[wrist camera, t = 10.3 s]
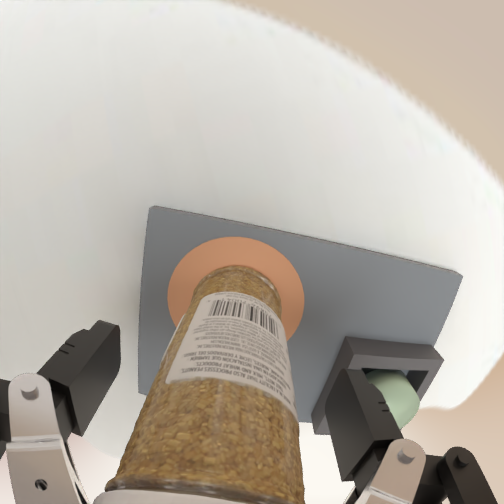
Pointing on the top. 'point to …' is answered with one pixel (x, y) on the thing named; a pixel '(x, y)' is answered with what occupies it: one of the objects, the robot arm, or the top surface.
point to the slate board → (300, 301)
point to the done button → (396, 393)
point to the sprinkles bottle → (218, 406)
